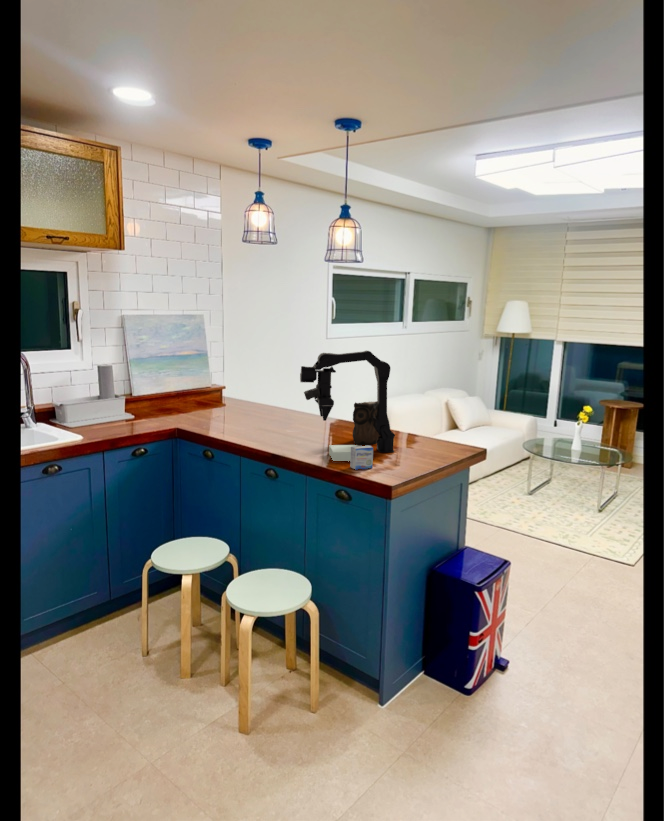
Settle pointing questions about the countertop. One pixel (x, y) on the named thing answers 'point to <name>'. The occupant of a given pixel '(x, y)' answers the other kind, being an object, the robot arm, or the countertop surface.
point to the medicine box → (361, 457)
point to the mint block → (340, 452)
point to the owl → (364, 423)
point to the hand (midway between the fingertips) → (323, 418)
